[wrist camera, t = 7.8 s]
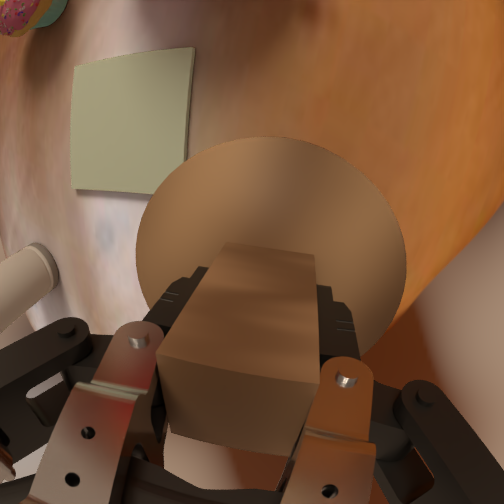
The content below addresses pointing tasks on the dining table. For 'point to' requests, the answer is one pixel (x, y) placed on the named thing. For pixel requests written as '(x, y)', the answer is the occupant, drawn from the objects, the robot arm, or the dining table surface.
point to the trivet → (130, 120)
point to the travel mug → (25, 281)
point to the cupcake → (28, 15)
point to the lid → (263, 282)
